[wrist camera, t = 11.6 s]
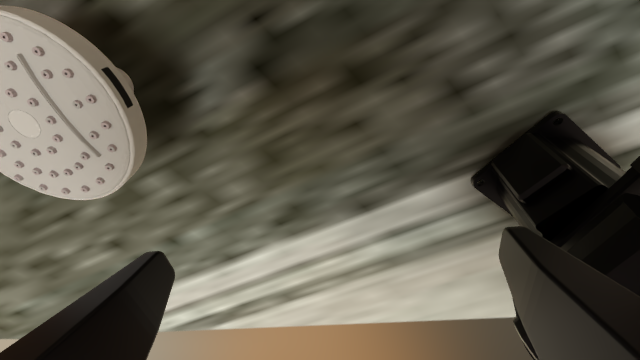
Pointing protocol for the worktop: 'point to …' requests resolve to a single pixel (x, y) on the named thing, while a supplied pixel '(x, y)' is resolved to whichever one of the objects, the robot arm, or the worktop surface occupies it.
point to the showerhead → (64, 110)
